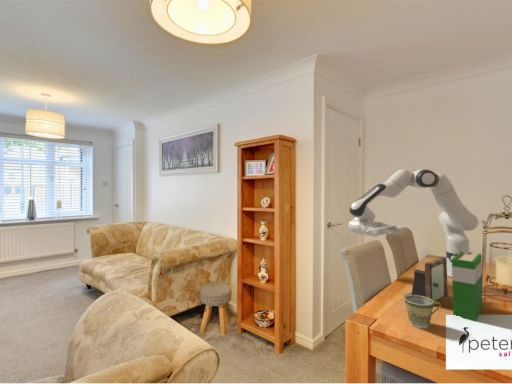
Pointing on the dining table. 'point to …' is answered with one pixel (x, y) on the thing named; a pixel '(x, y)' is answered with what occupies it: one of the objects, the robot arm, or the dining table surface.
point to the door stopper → (419, 283)
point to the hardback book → (467, 285)
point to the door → (437, 282)
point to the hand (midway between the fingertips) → (396, 231)
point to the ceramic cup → (420, 310)
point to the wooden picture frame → (429, 275)
